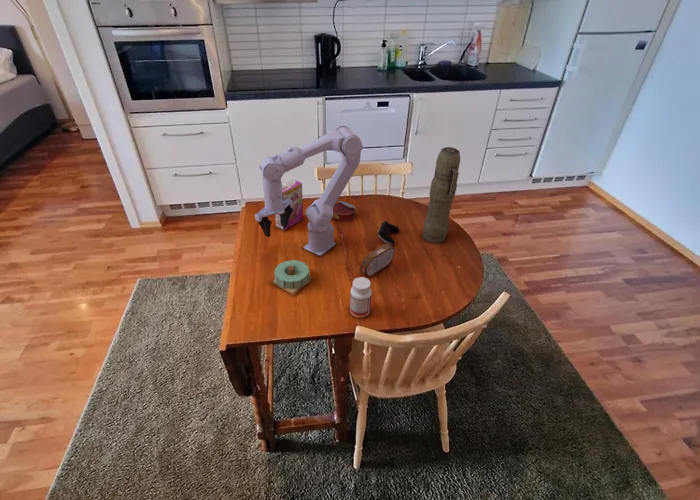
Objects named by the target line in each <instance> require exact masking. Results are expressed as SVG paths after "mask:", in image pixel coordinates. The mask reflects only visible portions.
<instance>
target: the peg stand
mask: <svg viewBox="0 0 700 500" xmlns="http://www.w3.org/2000/svg"><path fill="white" fill-rule="evenodd" d="M288 273H289V274H287V275H292V276H293V275H296V274H297V273H295V268H294V266H289V267H288ZM312 280H313V277H312V276H310V277H309V281H308V282H307V283H306V284H305V285H304V286H302V287H299V288H296V289H294V287H293V289H287V288H283V287H281V286H279V285H278V284H277V282H276V280H275V278H274V279H272V281H271V282H272V285H274V286H275V287H278V288H279V289H281V290H283V291H285V292H287V293H289V294H290V295H292V296H295V295H296V294H297V293H298V292H299V291H301V290H302V289H303V288H304V287H305V286H307V285H308V284H309V283H310V282H312Z"/></svg>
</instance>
